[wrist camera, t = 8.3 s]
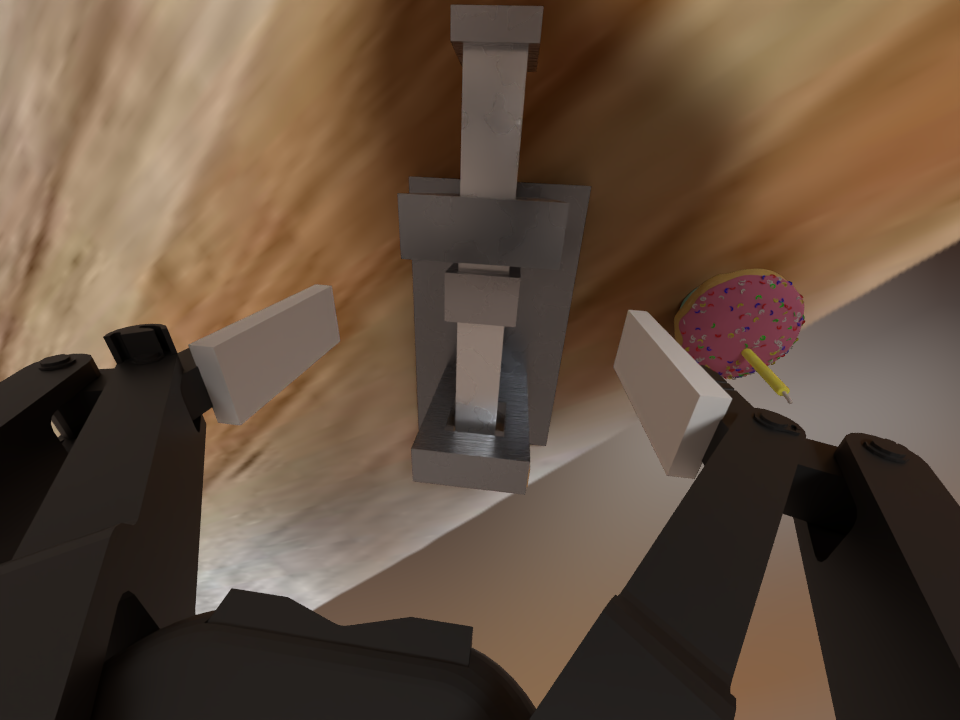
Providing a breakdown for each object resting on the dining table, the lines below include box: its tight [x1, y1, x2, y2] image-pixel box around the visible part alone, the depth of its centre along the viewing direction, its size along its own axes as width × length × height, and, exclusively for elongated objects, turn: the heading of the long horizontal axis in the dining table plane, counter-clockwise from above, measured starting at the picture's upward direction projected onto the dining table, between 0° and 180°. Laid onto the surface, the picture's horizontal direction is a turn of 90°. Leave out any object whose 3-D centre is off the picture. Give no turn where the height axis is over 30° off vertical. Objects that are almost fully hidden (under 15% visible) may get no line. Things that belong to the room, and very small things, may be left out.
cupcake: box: [674, 269, 805, 404], centre depth 25 cm, size 9×8×12 cm
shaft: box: [445, 5, 544, 436], centre depth 22 cm, size 24×4×4 cm, turn 177°
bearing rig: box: [398, 177, 591, 495], centre depth 27 cm, size 25×14×14 cm, turn 177°
